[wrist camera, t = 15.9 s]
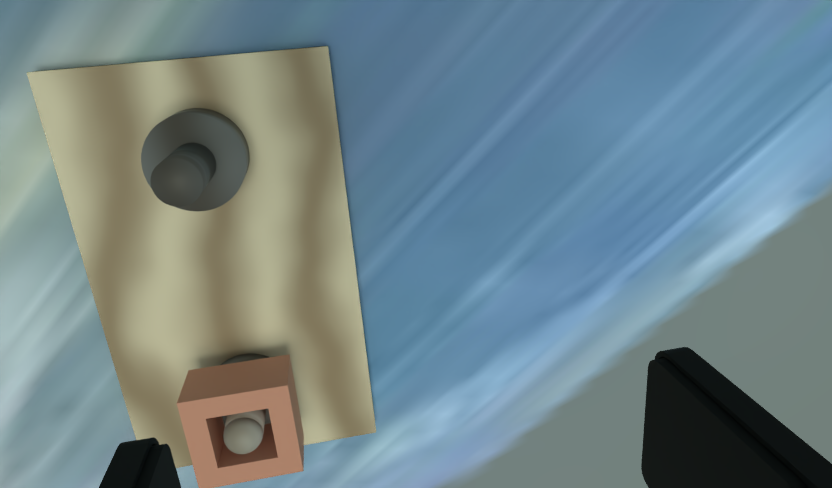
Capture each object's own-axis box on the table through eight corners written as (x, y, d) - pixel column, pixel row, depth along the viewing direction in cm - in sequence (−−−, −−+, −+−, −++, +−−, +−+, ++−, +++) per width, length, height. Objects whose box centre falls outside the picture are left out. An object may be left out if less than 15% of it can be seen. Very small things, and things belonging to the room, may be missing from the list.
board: (327, 45, 39) (332, 48, 30) (374, 421, 49) (388, 505, 40) (37, 71, 36) (-50, 82, 28) (151, 460, 47) (114, 558, 38)
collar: (289, 354, 42) (287, 385, 38) (303, 434, 44) (303, 471, 41) (188, 370, 41) (176, 403, 37) (208, 451, 43) (199, 490, 40)
